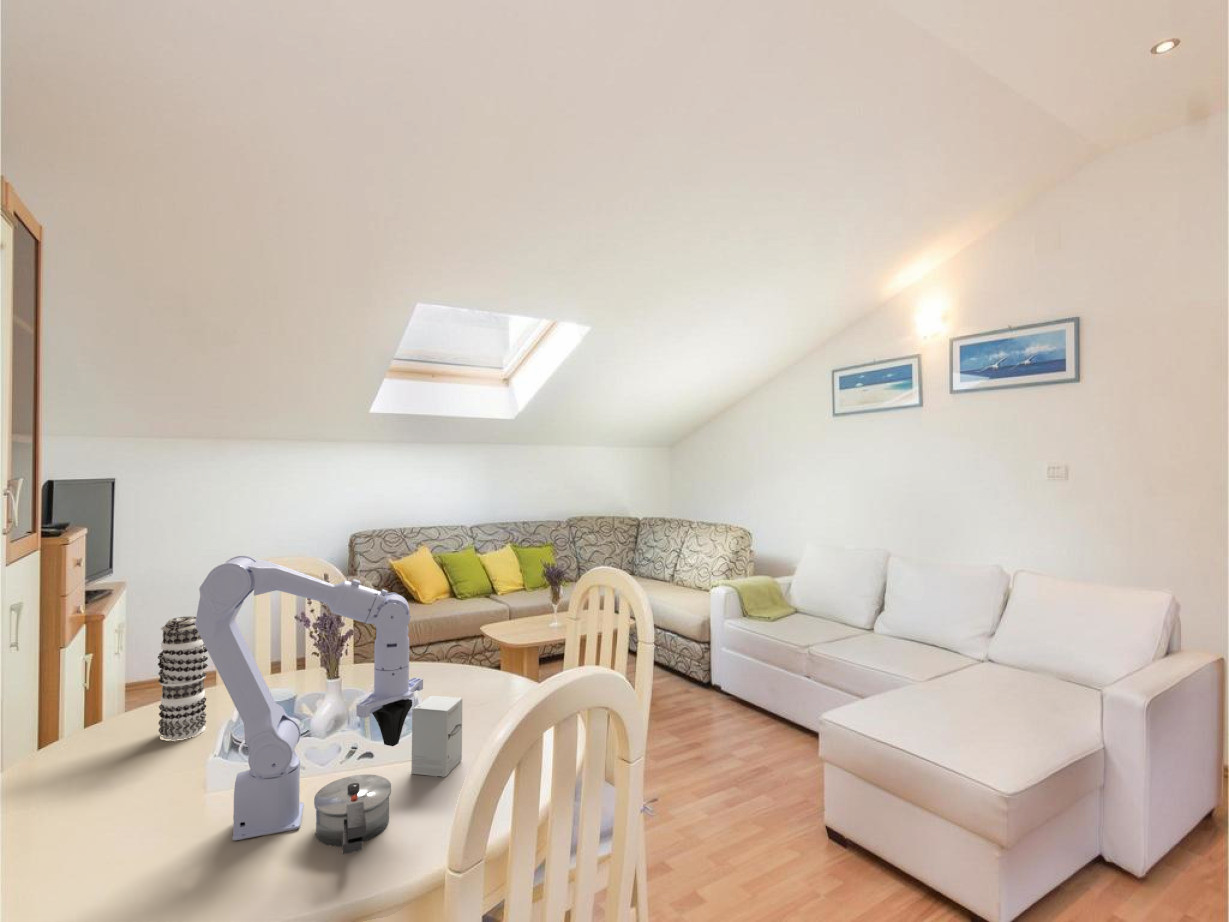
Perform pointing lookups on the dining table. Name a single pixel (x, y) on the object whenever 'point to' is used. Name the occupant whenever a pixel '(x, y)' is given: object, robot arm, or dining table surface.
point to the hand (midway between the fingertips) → (391, 744)
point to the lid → (353, 799)
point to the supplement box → (436, 735)
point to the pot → (336, 832)
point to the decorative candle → (182, 680)
